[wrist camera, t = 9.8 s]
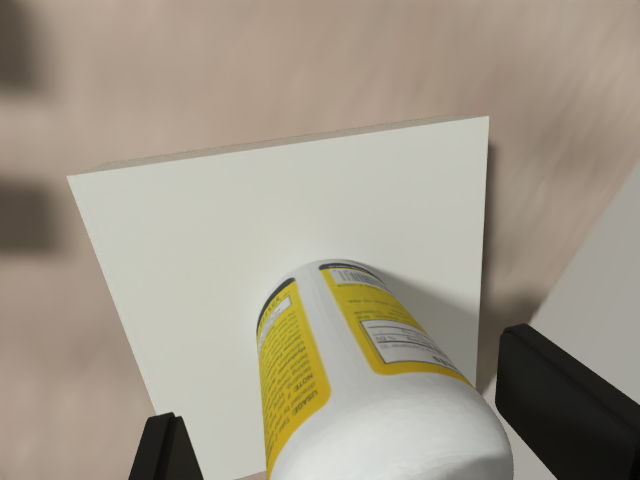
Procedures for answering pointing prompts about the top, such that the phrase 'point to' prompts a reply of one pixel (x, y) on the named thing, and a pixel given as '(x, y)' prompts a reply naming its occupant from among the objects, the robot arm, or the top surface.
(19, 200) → the top surface
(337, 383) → the supplement bottle
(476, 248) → the base plate
